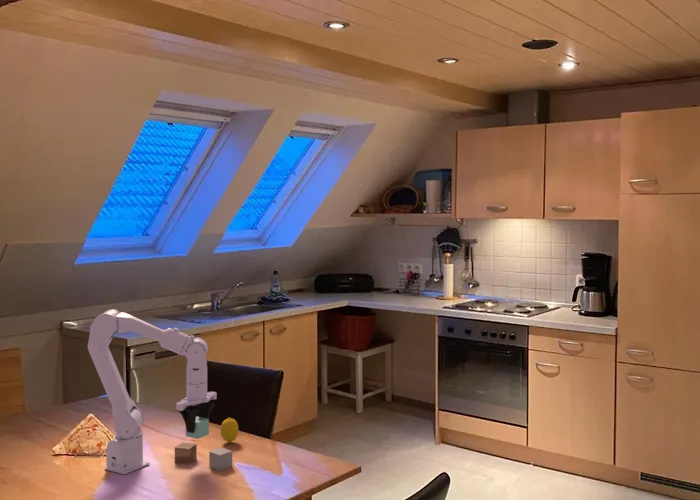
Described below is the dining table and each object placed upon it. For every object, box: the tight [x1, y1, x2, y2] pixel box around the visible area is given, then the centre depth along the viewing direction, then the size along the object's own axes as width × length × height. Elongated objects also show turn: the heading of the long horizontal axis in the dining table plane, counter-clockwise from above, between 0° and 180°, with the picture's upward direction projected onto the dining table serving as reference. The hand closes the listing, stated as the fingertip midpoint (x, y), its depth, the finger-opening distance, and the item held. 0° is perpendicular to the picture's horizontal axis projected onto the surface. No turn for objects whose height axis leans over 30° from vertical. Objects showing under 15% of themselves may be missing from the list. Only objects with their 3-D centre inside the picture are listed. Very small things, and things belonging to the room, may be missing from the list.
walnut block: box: [174, 441, 198, 465], centre depth 199 cm, size 4×4×4 cm
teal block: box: [185, 416, 210, 440], centre depth 196 cm, size 4×4×4 cm
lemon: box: [220, 417, 240, 444], centre depth 215 cm, size 6×6×8 cm
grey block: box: [208, 447, 233, 472], centre depth 195 cm, size 4×4×4 cm
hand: (197, 429), depth 196 cm, fingers closed on teal block, 4 cm apart
